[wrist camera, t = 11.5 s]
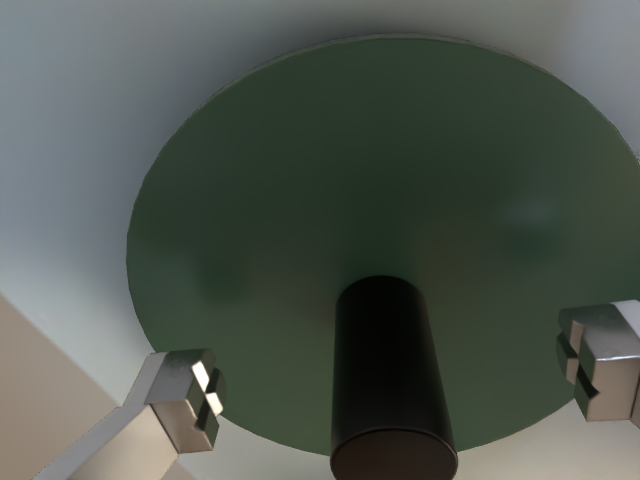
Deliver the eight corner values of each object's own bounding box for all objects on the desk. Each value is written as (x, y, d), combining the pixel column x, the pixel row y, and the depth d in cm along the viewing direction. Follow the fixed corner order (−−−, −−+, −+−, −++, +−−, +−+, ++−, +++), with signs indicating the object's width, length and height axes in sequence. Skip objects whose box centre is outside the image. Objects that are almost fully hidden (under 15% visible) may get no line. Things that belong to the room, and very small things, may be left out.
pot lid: (52, 92, 11) (-172, 208, 6) (681, -39, 9) (1048, -14, 4) (225, 443, 18) (180, 624, 13) (602, 413, 16) (709, 613, 11)
